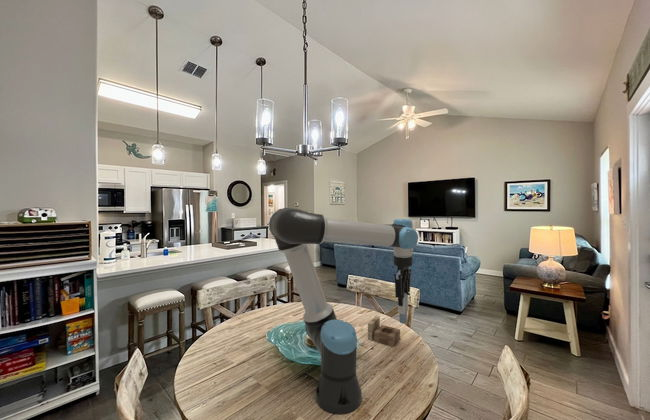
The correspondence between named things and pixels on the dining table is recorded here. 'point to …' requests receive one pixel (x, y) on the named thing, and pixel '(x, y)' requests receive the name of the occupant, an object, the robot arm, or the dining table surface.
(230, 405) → the dining table surface
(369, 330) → the jig
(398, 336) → the block
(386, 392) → the dining table surface
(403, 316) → the dowel
